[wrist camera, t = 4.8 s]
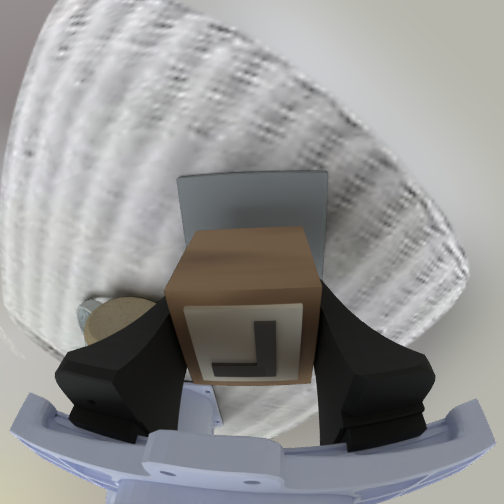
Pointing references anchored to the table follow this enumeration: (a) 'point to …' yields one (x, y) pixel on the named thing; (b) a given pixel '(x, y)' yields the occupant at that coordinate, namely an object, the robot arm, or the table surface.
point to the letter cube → (247, 306)
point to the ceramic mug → (109, 316)
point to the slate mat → (257, 203)
